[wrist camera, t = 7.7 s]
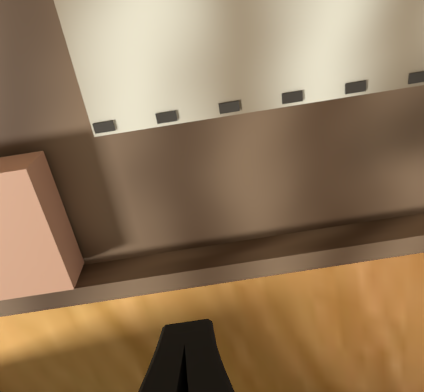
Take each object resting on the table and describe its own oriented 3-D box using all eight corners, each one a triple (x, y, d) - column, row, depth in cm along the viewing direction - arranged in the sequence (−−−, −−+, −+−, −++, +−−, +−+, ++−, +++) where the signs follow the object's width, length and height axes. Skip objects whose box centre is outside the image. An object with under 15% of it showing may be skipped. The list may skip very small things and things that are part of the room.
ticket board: (458, -121, 14) (516, -147, 12) (417, 224, 21) (448, 255, 19) (-129, -24, 14) (-195, -29, 12) (20, 285, 21) (-2, 323, 19)
